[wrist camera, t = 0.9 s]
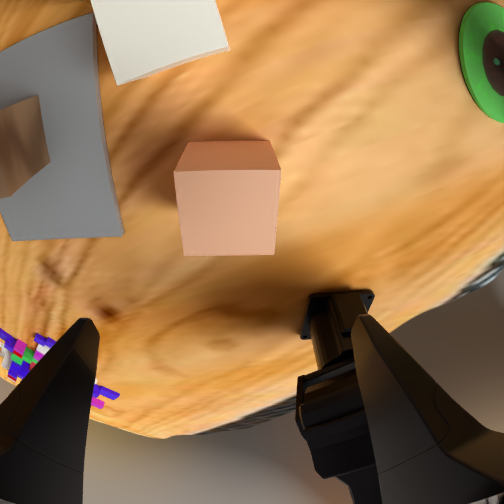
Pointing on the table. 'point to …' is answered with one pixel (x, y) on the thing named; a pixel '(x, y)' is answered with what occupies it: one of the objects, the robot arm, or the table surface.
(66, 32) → the plate
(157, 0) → the offwhite brick
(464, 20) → the plant figurine
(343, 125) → the table surface
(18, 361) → the building block set
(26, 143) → the walnut brick
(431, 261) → the table surface
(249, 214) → the terracotta brick
